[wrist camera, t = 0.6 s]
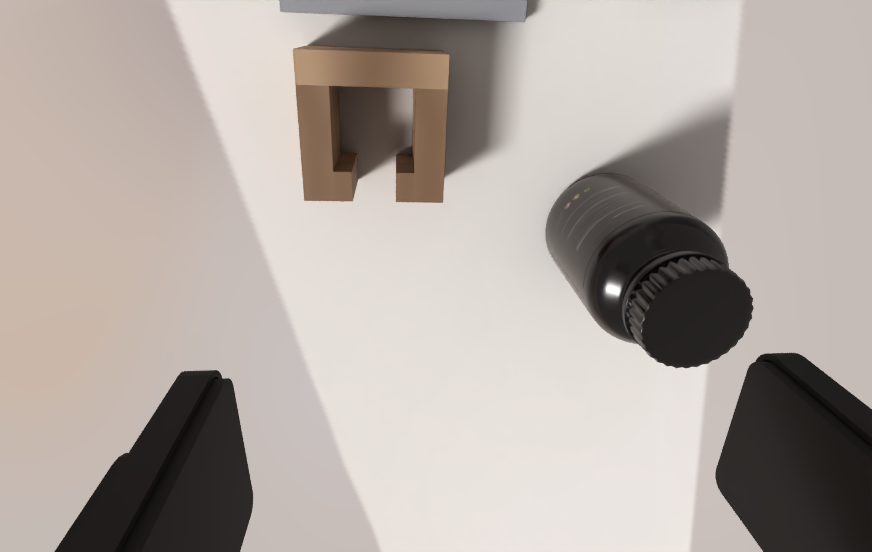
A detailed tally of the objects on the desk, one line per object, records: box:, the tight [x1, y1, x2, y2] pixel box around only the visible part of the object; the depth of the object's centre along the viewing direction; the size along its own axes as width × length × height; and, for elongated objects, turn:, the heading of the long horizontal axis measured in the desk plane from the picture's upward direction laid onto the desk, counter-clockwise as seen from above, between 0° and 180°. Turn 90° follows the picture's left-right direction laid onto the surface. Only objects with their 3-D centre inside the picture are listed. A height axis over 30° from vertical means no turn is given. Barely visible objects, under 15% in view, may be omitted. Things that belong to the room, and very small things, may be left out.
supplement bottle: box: [546, 173, 753, 368], centre depth 27 cm, size 7×7×12 cm
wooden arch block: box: [293, 46, 449, 203], centre depth 27 cm, size 7×7×4 cm
